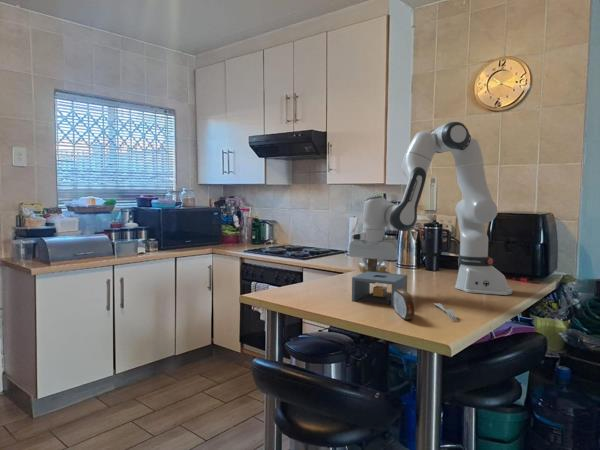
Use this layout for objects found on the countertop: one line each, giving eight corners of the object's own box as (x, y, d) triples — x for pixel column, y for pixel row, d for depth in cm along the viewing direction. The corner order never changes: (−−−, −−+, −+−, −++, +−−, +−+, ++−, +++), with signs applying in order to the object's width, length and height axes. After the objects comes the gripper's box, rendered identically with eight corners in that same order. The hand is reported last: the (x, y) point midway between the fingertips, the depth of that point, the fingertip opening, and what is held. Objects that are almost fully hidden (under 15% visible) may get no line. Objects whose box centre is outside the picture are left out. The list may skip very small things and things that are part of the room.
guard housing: (406, 298, 172) (407, 275, 171) (394, 307, 158) (394, 281, 157) (367, 293, 180) (367, 271, 179) (351, 301, 166) (352, 277, 165)
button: (386, 294, 169) (386, 287, 169) (383, 296, 166) (383, 288, 166) (376, 293, 171) (376, 285, 171) (372, 295, 168) (373, 287, 168)
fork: (440, 310, 161) (440, 303, 161) (458, 321, 140) (458, 312, 140) (432, 310, 161) (432, 302, 161) (449, 321, 140) (449, 312, 140)
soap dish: (381, 271, 234) (381, 262, 233) (386, 275, 224) (387, 265, 223) (357, 271, 232) (357, 262, 232) (362, 275, 222) (362, 265, 222)
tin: (414, 322, 139) (415, 296, 138) (405, 323, 139) (405, 296, 138) (400, 310, 154) (401, 286, 153) (391, 310, 154) (392, 286, 153)
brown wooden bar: (376, 282, 185) (377, 248, 184) (374, 283, 183) (375, 249, 182) (369, 281, 187) (370, 248, 186) (367, 282, 184) (368, 248, 183)
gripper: (400, 236, 181) (399, 270, 182) (353, 234, 191) (352, 266, 192) (395, 238, 176) (394, 273, 176) (347, 235, 186) (346, 268, 186)
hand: (372, 269), depth 184 cm, fingers closed on brown wooden bar, 3 cm apart
